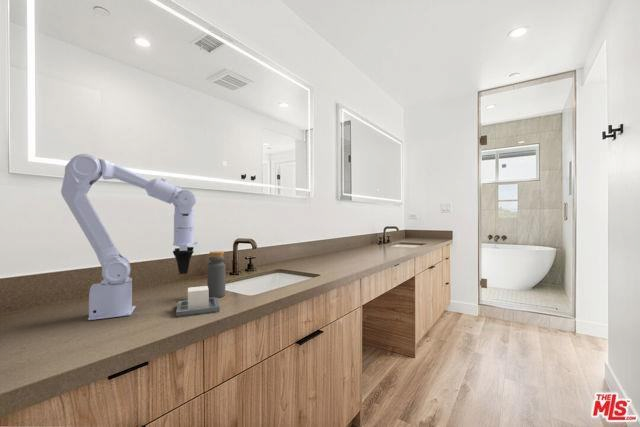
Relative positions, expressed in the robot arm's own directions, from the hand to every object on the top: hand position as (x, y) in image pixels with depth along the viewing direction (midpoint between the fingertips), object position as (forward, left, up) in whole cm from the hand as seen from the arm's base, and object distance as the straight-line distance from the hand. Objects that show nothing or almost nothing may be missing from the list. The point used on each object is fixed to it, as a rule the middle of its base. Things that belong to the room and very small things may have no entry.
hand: (183, 271), depth 91 cm
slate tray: (+4, -8, -10) cm, 13 cm away
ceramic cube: (+4, -8, -10) cm, 13 cm away
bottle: (+10, +5, -10) cm, 15 cm away
